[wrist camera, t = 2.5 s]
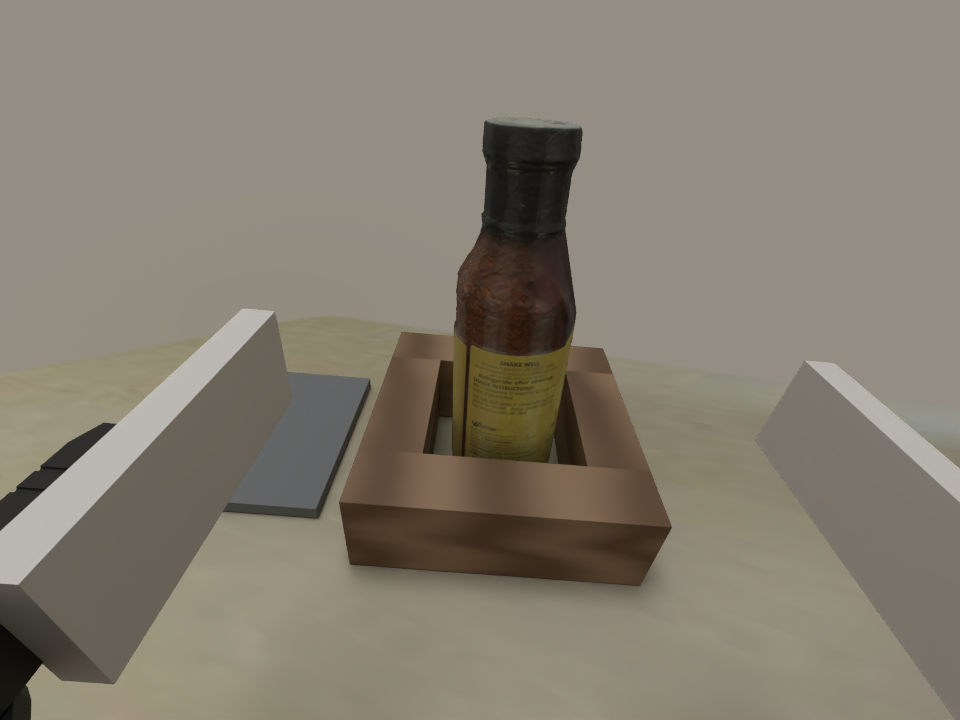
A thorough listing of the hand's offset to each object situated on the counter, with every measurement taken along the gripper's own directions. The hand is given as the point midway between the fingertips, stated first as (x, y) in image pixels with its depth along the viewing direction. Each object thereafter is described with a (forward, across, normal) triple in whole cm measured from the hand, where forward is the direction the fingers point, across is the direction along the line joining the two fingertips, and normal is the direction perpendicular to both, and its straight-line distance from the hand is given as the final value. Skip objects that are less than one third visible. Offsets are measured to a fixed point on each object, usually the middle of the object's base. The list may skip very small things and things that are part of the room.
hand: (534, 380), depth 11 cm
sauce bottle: (+11, +1, -15) cm, 18 cm away
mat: (+12, -15, -15) cm, 24 cm away
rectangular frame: (+11, +1, -15) cm, 18 cm away
